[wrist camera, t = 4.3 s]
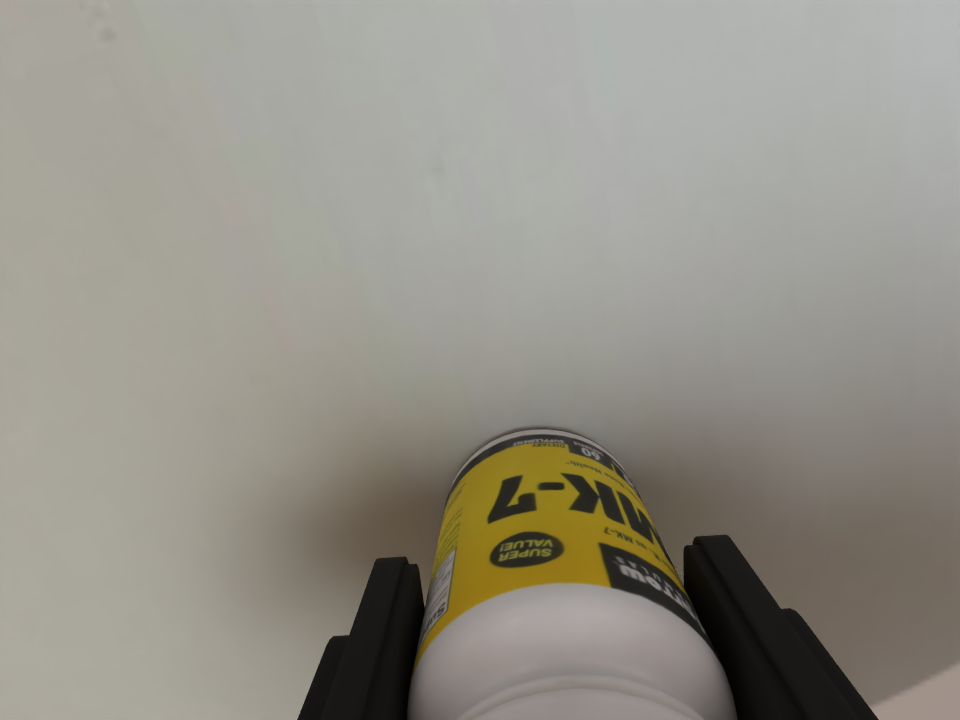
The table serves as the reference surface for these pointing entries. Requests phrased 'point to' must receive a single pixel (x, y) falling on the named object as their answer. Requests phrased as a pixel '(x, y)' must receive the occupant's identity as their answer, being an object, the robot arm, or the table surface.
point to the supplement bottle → (558, 597)
